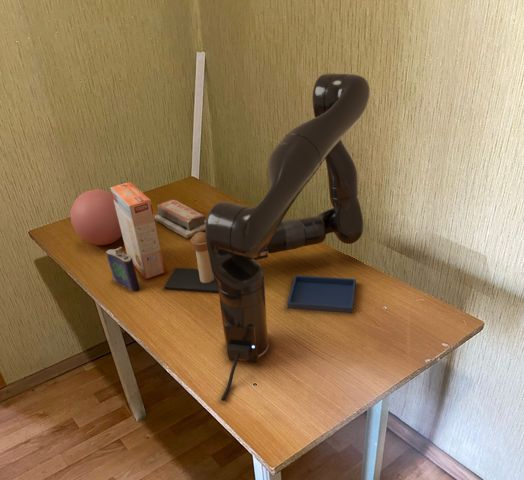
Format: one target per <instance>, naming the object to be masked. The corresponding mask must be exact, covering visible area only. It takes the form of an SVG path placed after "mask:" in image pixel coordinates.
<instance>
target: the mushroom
mask: <svg viewBox="0 0 524 480" xmlns="http://www.w3.org/2000/svg"><path fill="white" fill-rule="evenodd" d="M189 241H190V246H191V250H193V251H194V252H195V257H196V263H197V264H196V265H197V269H198V270H199V276H200V281H201V282H203V283H210V282H212V281H213V280H214V275H213V272H212V268H211V263H210V258H209V253H208V248H207V243H206V235H205V231H202V232H198V233H196V234H195V235H194V236H192V237H190V240H189Z"/></svg>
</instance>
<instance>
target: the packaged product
mask: <svg viewBox="0 0 524 480" xmlns="http://www.w3.org/2000/svg"><path fill="white" fill-rule="evenodd" d="M156 209H157V214H153V215H154V220H155V222H156V221H157V222H158V223H160V224H161V225H163V226H164V227H166V228H167V229H169V230H170V231H172V232H175V233H176V234H178V235H180V236H182V237H183V238H185V239H186V240H187V239H191V238H192V237H193V236H194V235H195V234H196V233H198V232H205V226H206V220H207V219H206V216H205V215H204V214H202V213H201V212H198V211H197V210H195V209H193V208H191V207H189V206H187V205H185V204H183V203H181V202H180V201H179V200H176V199H169V200H167V201H164V202H162V203H160V204H158V205H157V208H156Z"/></svg>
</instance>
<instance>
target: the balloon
mask: <svg viewBox="0 0 524 480" xmlns="http://www.w3.org/2000/svg"><path fill="white" fill-rule="evenodd" d="M70 222H71V226H72V228H73V230H74V232H75V233H76V234H77V236H78V237H80V239H82V241H85V242H86V243H88V244H91V245H95V246H107V245H110V244H113V243H114V242H117V241H118V240H119V239H120V238H121V237H123V236H122V232H121V228H120V224H119V220H118V216H117V212H116V208H115V204H114V200H113V196H112V192H109V190H104V189H98V188H97V189H90V190H86V191H83V192H82V193H80V194H79V195H78V196H77V197H76V199H75V200H74V201H73V203H72V205H71V208H70Z"/></svg>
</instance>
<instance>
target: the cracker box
mask: <svg viewBox="0 0 524 480" xmlns="http://www.w3.org/2000/svg"><path fill="white" fill-rule="evenodd" d="M110 191H111V192H110V193H112V196H113V200H114V204H115V208H116V212H117V216H118V220H119V224H120V228H121V232H122V236H121V237H122V240H123V245H124V249H125V254H127V255H128V256H129V257H131V258H132V260H133V265H134V268H136V269H137V271H138V272H139V273H140V274H141V276H142V277H143V278H144V279H145V280H148V279H152V278H154V277H156V276H160V275H163V274H165V273H166V272H165V271H166V270H165V266H164V261H163V256H162V250H161V245H160V241H159V240H160V239H159V236H158V230H157V227H156V226H157V225H156V220H155V219H154V215H155V214H154V210H153V205H152V201H151V199H150V198H149V197H148V196H147V195H146V194H144V192H143V191H141V190H140V189H139V188H138V187H137V186H136V185H134V183H133V182H132V181H128V182H124V183H120V184H117V185H113V186H110Z"/></svg>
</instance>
